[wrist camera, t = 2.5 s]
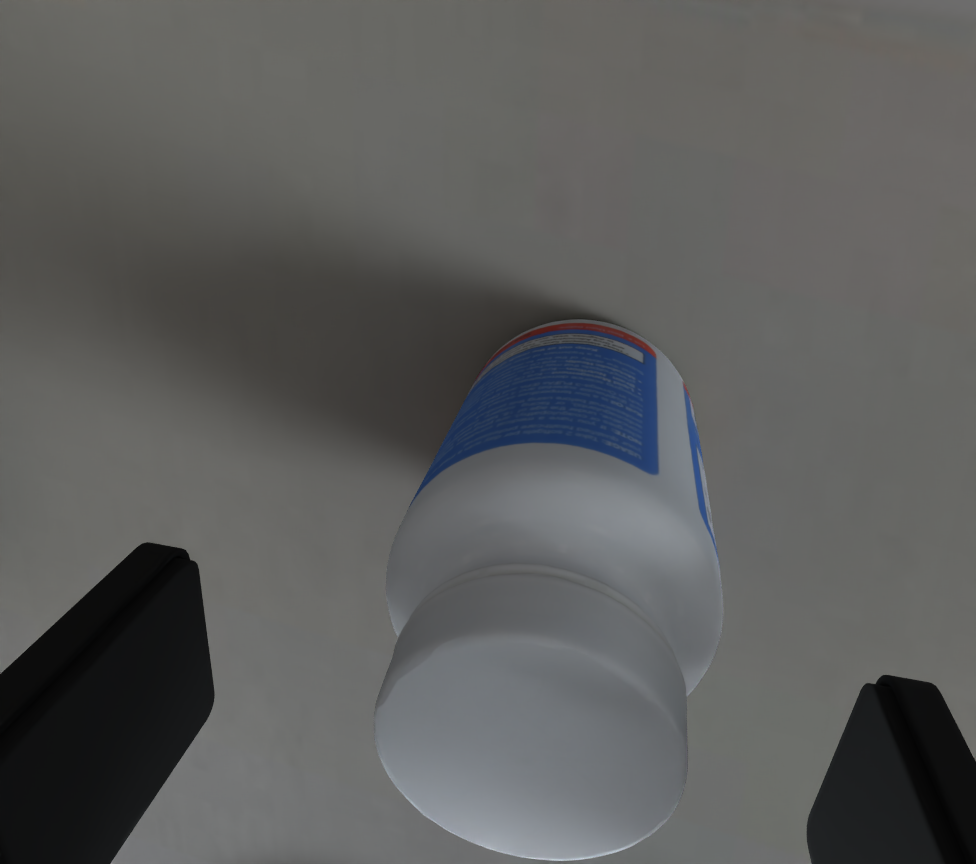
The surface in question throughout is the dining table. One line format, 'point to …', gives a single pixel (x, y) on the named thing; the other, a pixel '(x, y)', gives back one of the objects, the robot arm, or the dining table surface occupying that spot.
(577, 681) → the pill bottle
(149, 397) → the dining table surface
